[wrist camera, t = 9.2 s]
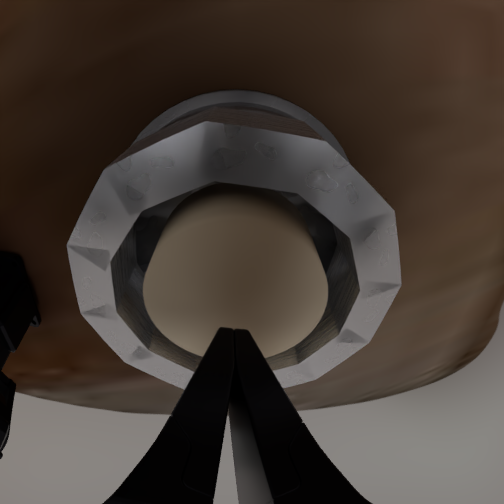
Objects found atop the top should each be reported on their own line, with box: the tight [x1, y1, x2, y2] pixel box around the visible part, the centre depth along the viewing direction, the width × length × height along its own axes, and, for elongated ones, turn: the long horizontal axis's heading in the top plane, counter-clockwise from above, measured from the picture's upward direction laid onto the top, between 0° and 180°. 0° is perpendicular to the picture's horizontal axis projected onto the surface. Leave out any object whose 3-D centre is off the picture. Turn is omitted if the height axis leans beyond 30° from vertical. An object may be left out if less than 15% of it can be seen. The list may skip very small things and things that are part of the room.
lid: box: [143, 183, 328, 358], centre depth 11 cm, size 6×6×3 cm
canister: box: [67, 89, 402, 390], centre depth 13 cm, size 12×12×7 cm
